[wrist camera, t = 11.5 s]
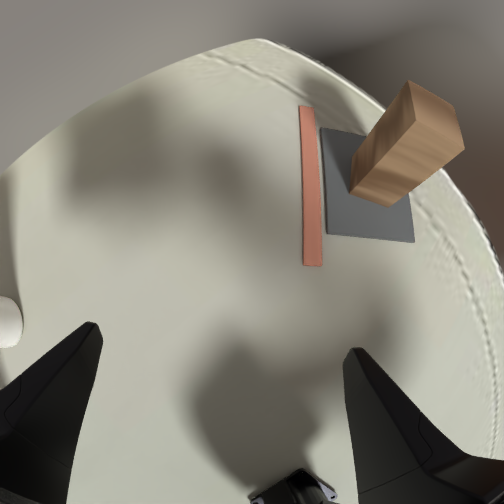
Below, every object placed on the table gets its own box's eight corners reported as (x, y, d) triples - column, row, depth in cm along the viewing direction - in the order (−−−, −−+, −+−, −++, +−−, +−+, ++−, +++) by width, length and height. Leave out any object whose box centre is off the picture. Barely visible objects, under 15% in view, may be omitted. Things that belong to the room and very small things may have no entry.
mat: (412, 242, 25) (415, 241, 25) (327, 233, 25) (328, 232, 24) (396, 146, 28) (398, 145, 28) (320, 129, 27) (321, 127, 27)
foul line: (320, 266, 24) (321, 265, 24) (303, 265, 24) (304, 264, 23) (312, 109, 28) (313, 107, 28) (299, 107, 28) (299, 105, 28)
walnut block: (388, 207, 25) (464, 148, 14) (348, 193, 25) (416, 120, 14) (388, 171, 27) (453, 106, 15) (351, 156, 26) (407, 79, 15)
